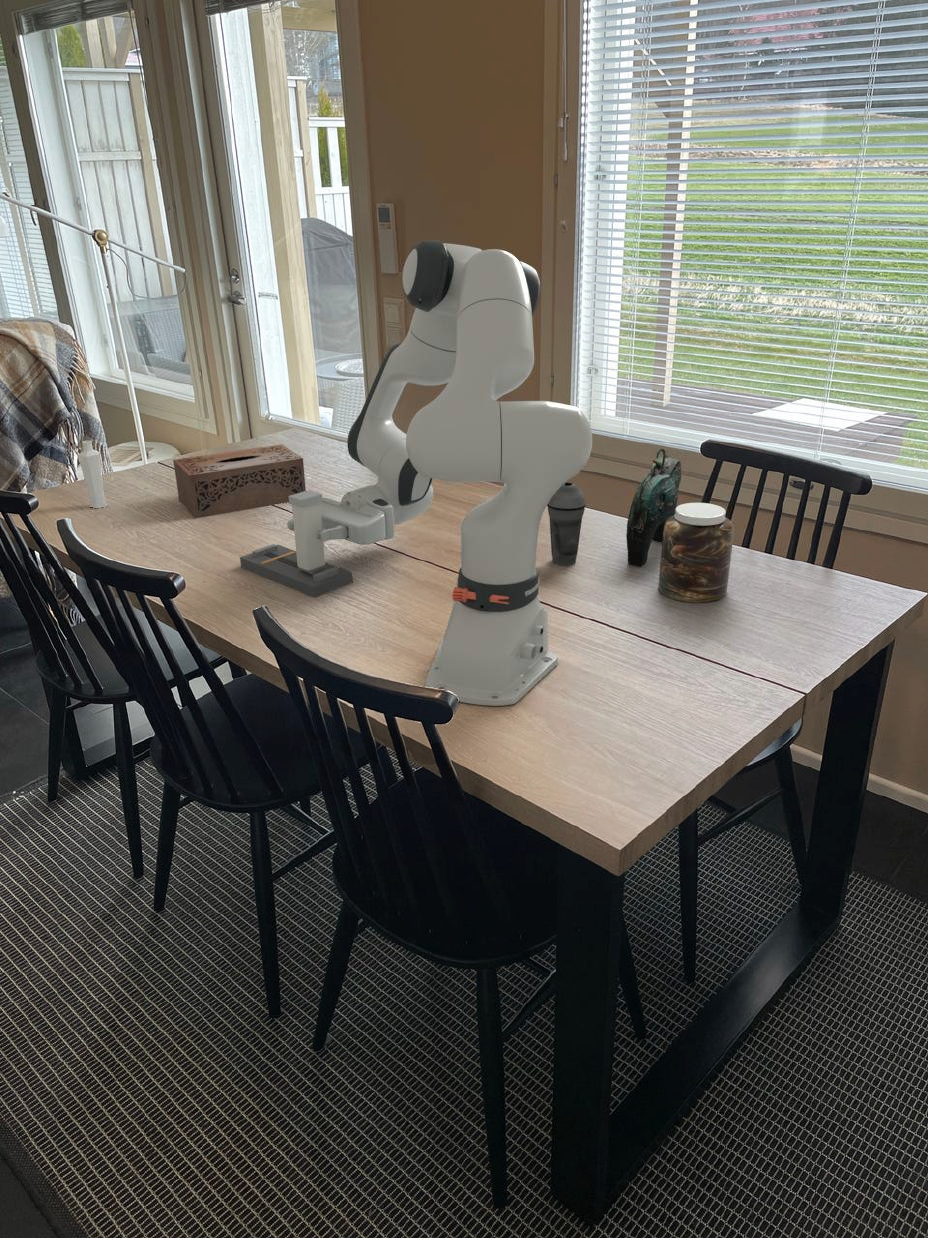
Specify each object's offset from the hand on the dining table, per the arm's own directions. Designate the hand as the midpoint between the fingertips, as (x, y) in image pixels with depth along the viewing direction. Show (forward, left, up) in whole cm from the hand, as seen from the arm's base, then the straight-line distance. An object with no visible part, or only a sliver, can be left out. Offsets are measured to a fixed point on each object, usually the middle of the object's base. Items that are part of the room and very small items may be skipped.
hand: (304, 531), depth 166 cm
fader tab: (+1, 0, -8) cm, 8 cm away
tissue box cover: (+39, +38, -11) cm, 56 cm away
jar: (+19, -67, -10) cm, 70 cm away
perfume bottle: (+25, +67, -10) cm, 72 cm away
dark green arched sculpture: (+36, -57, -10) cm, 68 cm away
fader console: (+3, +4, -10) cm, 11 cm away
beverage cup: (+25, -42, -10) cm, 50 cm away
